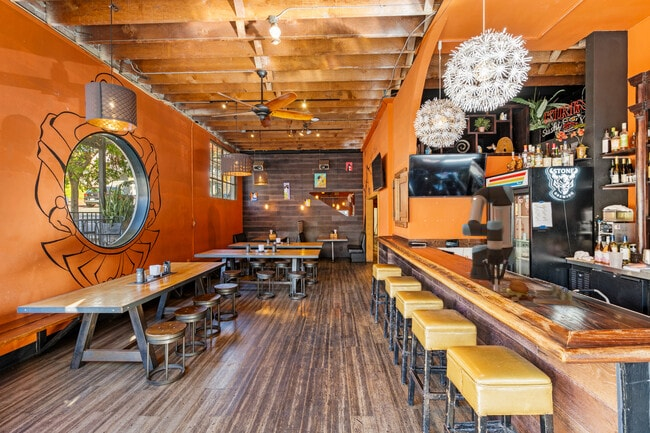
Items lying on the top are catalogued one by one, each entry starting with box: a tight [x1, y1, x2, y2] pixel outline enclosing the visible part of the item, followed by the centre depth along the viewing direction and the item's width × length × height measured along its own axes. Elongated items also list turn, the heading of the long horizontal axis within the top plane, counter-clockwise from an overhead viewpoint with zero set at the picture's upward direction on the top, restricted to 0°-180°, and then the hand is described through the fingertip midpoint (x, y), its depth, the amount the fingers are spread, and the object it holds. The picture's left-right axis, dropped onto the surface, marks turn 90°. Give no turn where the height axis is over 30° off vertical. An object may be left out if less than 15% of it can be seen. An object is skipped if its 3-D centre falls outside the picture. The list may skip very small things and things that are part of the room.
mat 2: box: [522, 301, 540, 308], centre depth 152 cm, size 6×7×1 cm
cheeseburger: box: [506, 279, 530, 299], centre depth 166 cm, size 10×11×10 cm
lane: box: [500, 284, 573, 306], centre depth 164 cm, size 21×26×5 cm
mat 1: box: [528, 289, 536, 294], centre depth 177 cm, size 6×7×1 cm
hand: (495, 290), depth 169 cm, fingers closed
